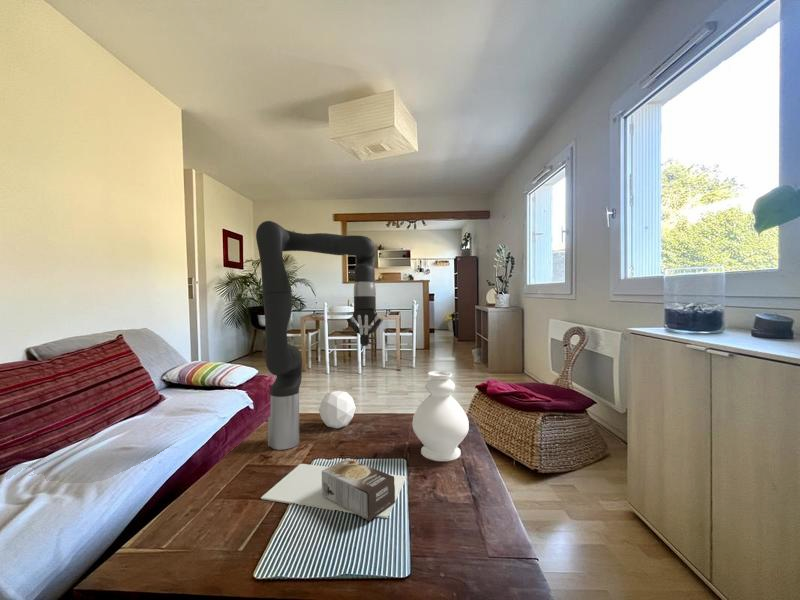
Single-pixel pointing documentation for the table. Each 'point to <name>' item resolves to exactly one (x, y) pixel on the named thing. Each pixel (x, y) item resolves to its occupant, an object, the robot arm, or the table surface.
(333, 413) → the geodesic sphere
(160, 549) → the table surface
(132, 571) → the table surface
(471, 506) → the table surface
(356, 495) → the coffee box
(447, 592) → the table surface
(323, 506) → the mat
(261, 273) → the robot arm
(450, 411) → the decorative vase
